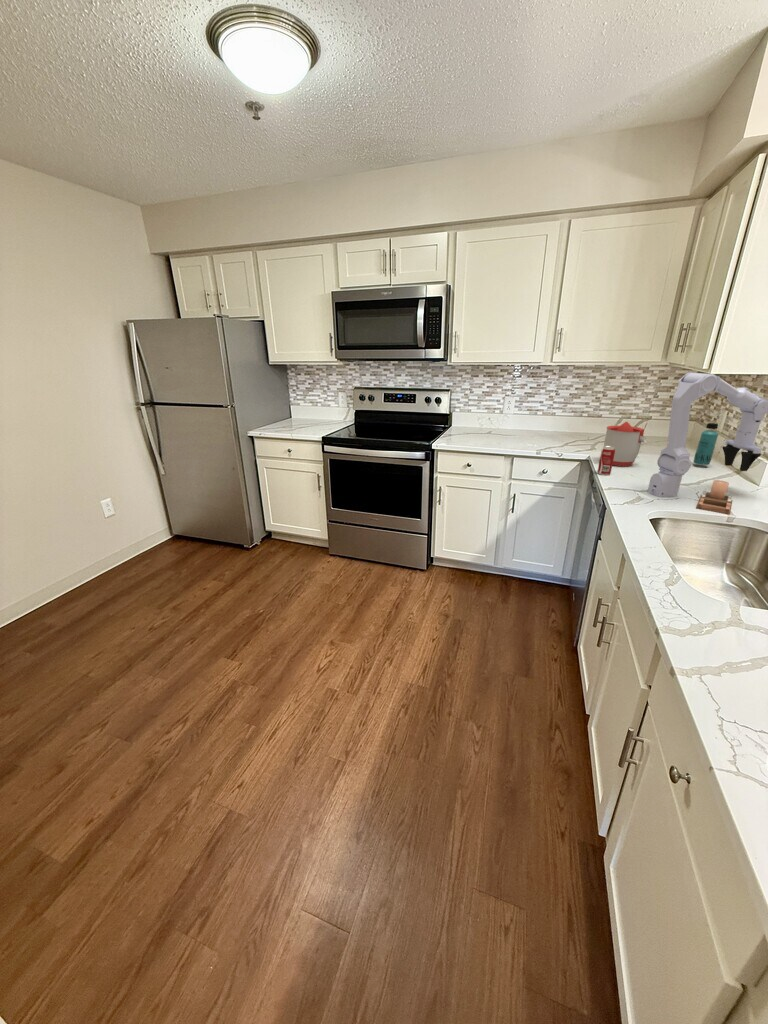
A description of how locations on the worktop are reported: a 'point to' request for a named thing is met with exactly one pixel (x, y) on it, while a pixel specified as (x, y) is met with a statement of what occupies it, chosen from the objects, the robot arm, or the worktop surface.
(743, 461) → the robot arm
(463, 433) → the worktop surface
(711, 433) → the beverage bottle
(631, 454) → the citrus juicer
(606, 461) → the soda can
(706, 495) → the tray
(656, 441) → the worktop surface
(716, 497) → the tube
